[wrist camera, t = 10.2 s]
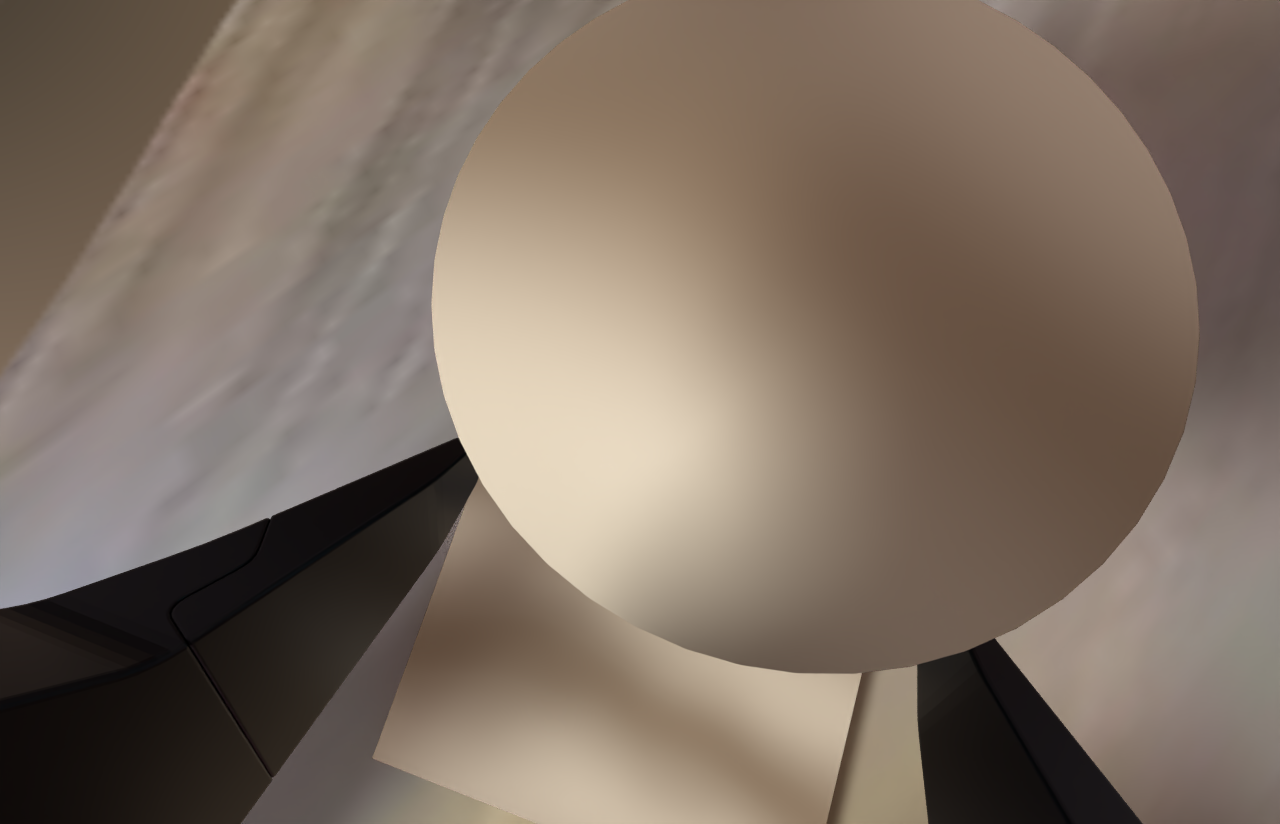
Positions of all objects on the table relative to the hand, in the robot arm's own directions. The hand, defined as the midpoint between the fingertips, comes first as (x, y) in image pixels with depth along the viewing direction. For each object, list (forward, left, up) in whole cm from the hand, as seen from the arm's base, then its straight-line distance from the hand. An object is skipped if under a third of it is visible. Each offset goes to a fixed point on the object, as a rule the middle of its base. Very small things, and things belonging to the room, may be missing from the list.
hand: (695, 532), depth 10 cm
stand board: (0, 0, -9) cm, 9 cm away
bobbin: (+3, 0, -7) cm, 8 cm away
